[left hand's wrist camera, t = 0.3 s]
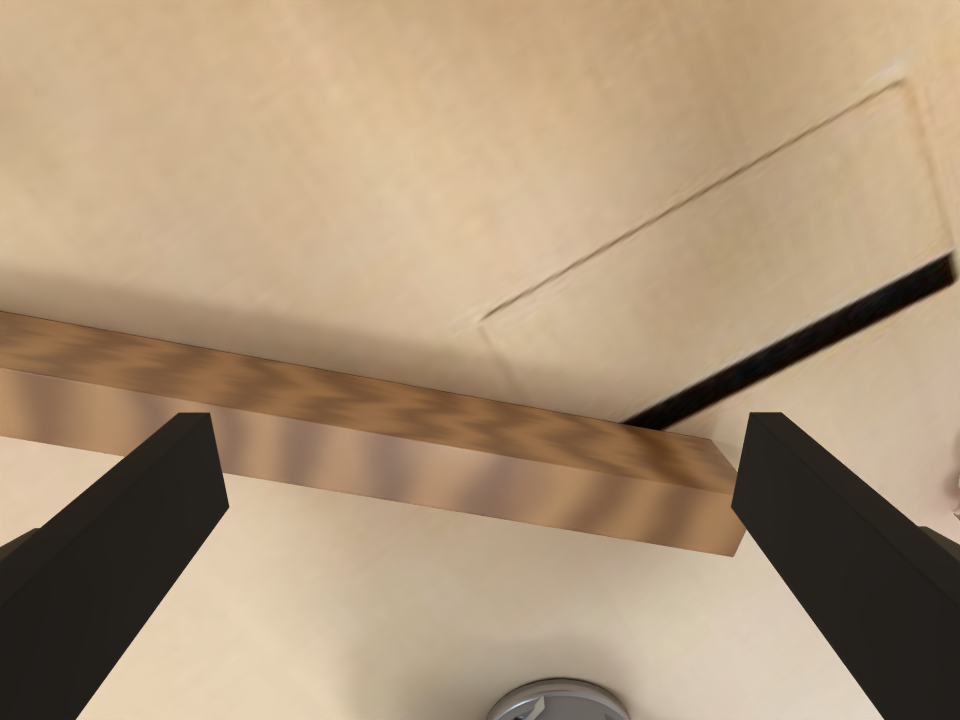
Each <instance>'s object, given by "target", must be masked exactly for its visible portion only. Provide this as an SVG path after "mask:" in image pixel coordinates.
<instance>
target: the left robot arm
mask: <svg viewBox="0 0 960 720" xmlns="http://www.w3.org/2000/svg"><path fill="white" fill-rule="evenodd" d="M228 508H229V503H228V498H227V493H226V488H225V483H224V478H223V474H222V469H221V464H220V459H219V454H218V449H217V444H216V439H215V434H214V429H213V424H212V419H211V414H210V412H178V413H177V414H176V415H175V416H174V417H173V418H171V419H170V420H169V421H168V422H167V423H165V424H164V425H163V426H162V427H161V428H159V429H158V430H157V431H156V432H155V433H153V434H152V435H151V436H150V437H149V438H147V439H146V440H145V441H144V442H143V443H141V444H140V445H139V446H138V447H137V448H135V449H134V450H133V451H132V452H131V453H129V454H128V455H127V456H126V457H125V458H123V459H122V460H121V461H120V462H119V463H117V464H116V465H115V466H114V467H113V468H112V469H110V470H109V471H108V472H107V473H106V474H104V475H103V476H102V477H101V478H100V479H98V480H97V481H96V482H95V483H94V484H92V485H91V486H90V487H89V488H88V489H86V490H85V491H84V492H83V493H82V494H80V495H79V496H78V497H77V498H76V499H74V500H73V501H72V502H71V503H70V504H68V505H67V506H66V507H65V508H64V509H62V510H61V511H60V512H59V513H58V514H57V515H55V516H54V517H53V518H52V519H51V520H49V521H48V522H47V523H46V524H45V525H43V526H42V527H41V528H34V529H32V530H31V531H29V532H27V533H25V534H23V535H21V536H20V537H18V538H16V539H14V540H12V541H11V542H9V543H7V544H5V545H3V546H1V547H0V720H76V719H77V717H78V716H79V714H80V713H81V712H82V710H83V709H84V707H85V706H86V705H87V703H88V702H89V701H90V699H91V698H92V696H93V695H94V694H95V692H96V691H97V689H98V688H99V687H100V685H101V684H102V683H103V681H104V680H105V678H106V677H107V676H108V674H109V673H110V671H111V670H112V669H113V667H114V666H115V665H116V663H117V662H118V660H119V659H120V658H121V656H122V655H123V653H124V652H125V651H126V649H127V648H128V647H129V645H130V644H131V642H132V641H133V640H134V638H135V637H136V636H137V634H138V633H139V631H140V630H141V629H142V627H143V626H144V624H145V623H146V622H147V620H148V619H149V618H150V616H151V615H152V613H153V612H154V611H155V609H156V608H157V606H158V605H159V604H160V602H161V601H162V600H163V598H164V597H165V595H166V594H167V593H168V591H169V590H170V588H171V587H172V586H173V584H174V583H175V582H176V580H177V579H178V577H179V576H180V575H181V573H182V572H183V571H184V569H185V568H186V566H187V565H188V564H189V562H190V561H191V559H192V558H193V557H194V555H195V554H196V553H197V551H198V550H199V548H200V547H201V546H202V544H203V543H204V541H205V540H206V539H207V537H208V536H209V535H210V533H211V532H212V530H213V529H214V528H215V526H216V525H217V523H218V522H219V521H220V519H221V518H222V517H223V515H224V514H225V512H226V511H227V510H228ZM731 508H732V510H733V511H734V512H735V514H736V515H737V517H738V518H739V519H740V521H741V522H742V523H743V525H744V526H745V528H746V529H747V530H748V532H749V533H750V535H751V536H752V537H753V539H754V540H755V541H756V543H757V544H758V546H759V547H760V548H761V550H762V551H763V553H764V554H765V555H766V557H767V558H768V559H769V561H770V562H771V564H772V565H773V566H774V568H775V569H776V571H777V572H778V573H779V575H780V576H781V577H782V579H783V580H784V582H785V583H786V584H787V586H788V587H789V588H790V590H791V591H792V593H793V594H794V595H795V597H796V598H797V600H798V601H799V602H800V604H801V605H802V606H803V608H804V609H805V611H806V612H807V613H808V615H809V616H810V618H811V619H812V620H813V622H814V623H815V624H816V626H817V627H818V629H819V630H820V631H821V633H822V634H823V636H824V637H825V638H826V640H827V641H828V642H829V644H830V645H831V647H832V648H833V649H834V651H835V652H836V653H837V655H838V656H839V658H840V659H841V660H842V662H843V663H844V665H845V666H846V667H847V669H848V670H849V671H850V673H851V674H852V676H853V677H854V678H855V680H856V681H857V683H858V684H859V685H860V687H861V688H862V689H863V691H864V692H865V694H866V695H867V696H868V698H869V699H870V701H871V702H872V703H873V705H874V706H875V707H876V709H877V710H878V712H879V713H880V714H881V716H882V717H883V719H884V720H960V545H959V544H957V543H955V542H954V541H952V540H950V539H948V538H946V537H944V536H943V535H941V534H939V533H937V532H935V531H933V530H932V529H930V528H928V527H918V526H917V525H915V524H914V523H913V522H912V521H911V520H909V519H908V518H907V517H906V516H905V515H903V514H902V513H901V512H900V511H899V510H898V509H896V508H895V507H894V506H893V505H892V504H890V503H889V502H888V501H887V500H886V499H884V498H883V497H882V496H881V495H880V494H878V493H877V492H876V491H875V490H874V489H872V488H871V487H870V486H869V485H868V484H866V483H865V482H864V481H863V480H862V479H860V478H859V477H858V476H857V475H856V474H854V473H853V472H852V471H851V470H850V469H848V468H847V467H846V466H845V465H844V464H843V463H841V462H840V461H839V460H838V459H837V458H835V457H834V456H833V455H832V454H831V453H829V452H828V451H827V450H826V449H825V448H823V447H822V446H821V445H820V444H819V443H817V442H816V441H815V440H814V439H813V438H811V437H810V436H809V435H808V434H807V433H805V432H804V431H803V430H802V429H801V428H799V427H798V426H797V425H796V424H795V423H793V422H792V421H791V420H790V419H789V418H787V417H786V416H785V415H784V414H783V413H782V412H750V414H749V419H748V424H747V429H746V434H745V439H744V444H743V449H742V454H741V459H740V464H739V469H738V474H737V478H736V483H735V488H734V493H733V498H732V503H731ZM486 720H629V719H628V715H627V713H626V711H625V709H624V707H623V706H622V704H621V703H620V702H619V701H618V700H617V699H616V698H615V697H614V696H613V695H612V694H610V693H609V692H607V691H605V690H604V689H602V688H600V687H597V686H595V685H592V684H589V683H586V682H582V681H576V680H566V679H556V680H545V681H539V682H535V683H531V684H528V685H525V686H523V687H520V688H518V689H516V690H514V691H512V692H510V693H509V694H507V695H506V696H505V697H503V698H502V699H501V700H500V701H499V702H498V703H497V704H496V705H495V706H494V707H493V708H492V710H491V711H490V713H489V715H488V717H487V719H486Z"/></svg>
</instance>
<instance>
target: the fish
mask: <svg viewBox="0 0 960 720" xmlns="http://www.w3.org/2000/svg"><path fill="white" fill-rule="evenodd" d="M958 486H959V489H960V474H959V484H958ZM954 515H955V516H956V517H957V518H958V519H959V520H960V515H956V514H954Z"/></svg>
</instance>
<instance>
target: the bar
mask: <svg viewBox="0 0 960 720" xmlns="http://www.w3.org/2000/svg"><path fill="white" fill-rule="evenodd" d="M178 412H210V414H211V419H212V424H213V429H214V434H215V439H216V444H217V449H218V454H219V459H220V464H221V469H222V473H228V474H234V475H240V476H246V477H252V478H258V479H264V480H270V481H276V482H282V483H288V484H294V485H300V486H306V487H312V488H318V489H325V490H331V491H337V492H343V493H349V494H355V495H361V496H367V497H373V498H379V499H385V500H391V501H397V502H403V503H409V504H415V505H421V506H427V507H433V508H439V509H445V510H451V511H458V512H464V513H470V514H476V515H482V516H488V517H494V518H500V519H506V520H512V521H518V522H524V523H530V524H536V525H542V526H548V527H554V528H560V529H566V530H572V531H578V532H585V533H591V534H597V535H603V536H609V537H615V538H621V539H627V540H633V541H639V542H645V543H651V544H657V545H663V546H669V547H675V548H681V549H687V550H693V551H699V552H705V553H711V554H718V555H724V556H730V557H734V555H735V553H736V551H737V549H738V546H739V544H740V542H741V540H742V538H743V536H744V533H745V531H746V528H745V526H744V525H743V523H742V522H741V521H740V519H739V518H738V517H737V515H736V514H735V512H734V511H733V510H732V508H731V503H732V498H733V493H734V488H735V483H736V478H737V474H738V472H737V471H736V470H735V469H734V468H733V466H732V465H731V464H730V463H729V462H728V460H727V459H726V458H725V457H724V455H723V454H722V453H721V452H720V451H719V449H718V448H717V447H716V446H715V445H714V443H713V442H712V441H711V440H708V439H702V438H697V437H691V436H686V435H680V434H674V433H669V432H663V431H658V430H652V429H647V428H641V427H636V426H630V425H625V424H619V423H614V422H608V421H603V420H597V419H592V418H586V417H581V416H575V415H570V414H564V413H559V412H553V411H548V410H542V409H536V408H531V407H525V406H520V405H514V404H509V403H503V402H498V401H492V400H487V399H481V398H476V397H470V396H465V395H459V394H454V393H448V392H443V391H437V390H432V389H426V388H421V387H415V386H410V385H404V384H398V383H393V382H387V381H382V380H376V379H371V378H365V377H360V376H354V375H349V374H343V373H338V372H332V371H327V370H321V369H316V368H310V367H305V366H299V365H294V364H288V363H283V362H277V361H272V360H266V359H260V358H255V357H249V356H244V355H238V354H233V353H227V352H222V351H216V350H211V349H205V348H200V347H194V346H189V345H183V344H178V343H172V342H167V341H161V340H156V339H150V338H145V337H139V336H134V335H128V334H122V333H117V332H111V331H106V330H100V329H95V328H89V327H84V326H78V325H73V324H67V323H62V322H56V321H51V320H45V319H40V318H34V317H29V316H23V315H18V314H12V313H7V312H1V311H0V436H4V437H10V438H16V439H22V440H28V441H34V442H40V443H46V444H52V445H58V446H65V447H71V448H77V449H83V450H89V451H95V452H101V453H107V454H113V455H119V456H125V457H126V456H127V455H128V454H129V453H131V452H132V451H133V450H134V449H135V448H137V447H138V446H139V445H140V444H141V443H143V442H144V441H145V440H146V439H147V438H149V437H150V436H151V435H152V434H153V433H155V432H156V431H157V430H158V429H159V428H161V427H162V426H163V425H164V424H165V423H167V422H168V421H169V420H170V419H171V418H173V417H174V416H175V415H176V414H177V413H178Z"/></svg>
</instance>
